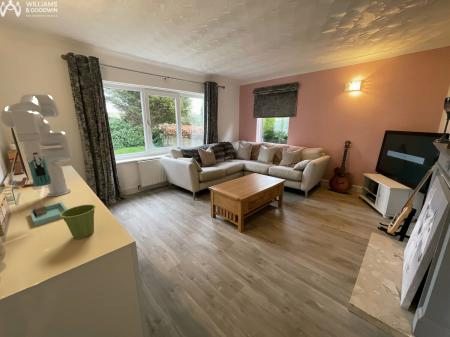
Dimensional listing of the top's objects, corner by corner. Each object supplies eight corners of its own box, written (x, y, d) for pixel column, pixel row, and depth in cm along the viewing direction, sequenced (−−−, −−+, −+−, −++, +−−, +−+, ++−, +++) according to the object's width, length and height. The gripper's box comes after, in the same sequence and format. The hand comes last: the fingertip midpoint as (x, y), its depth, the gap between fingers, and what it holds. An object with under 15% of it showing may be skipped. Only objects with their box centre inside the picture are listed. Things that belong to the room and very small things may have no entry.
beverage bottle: (42, 189, 91) (29, 148, 86) (31, 189, 92) (18, 148, 87) (56, 185, 97) (45, 146, 92) (45, 184, 98) (34, 146, 94)
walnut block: (34, 214, 100) (32, 207, 99) (44, 211, 103) (42, 204, 102) (37, 216, 98) (35, 209, 97) (47, 213, 101) (45, 206, 100)
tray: (31, 215, 101) (29, 210, 100) (62, 206, 110) (61, 202, 109) (35, 227, 88) (33, 221, 88) (70, 216, 98) (69, 211, 97)
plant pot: (103, 233, 81) (98, 209, 78) (68, 246, 73) (61, 220, 70) (97, 223, 89) (92, 201, 87) (65, 234, 81) (58, 210, 79)
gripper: (16, 138, 91) (27, 173, 96) (19, 139, 80) (31, 179, 85) (38, 136, 97) (47, 170, 101) (43, 137, 86) (53, 175, 90)
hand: (40, 174), depth 93 cm, fingers closed on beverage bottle, 6 cm apart
